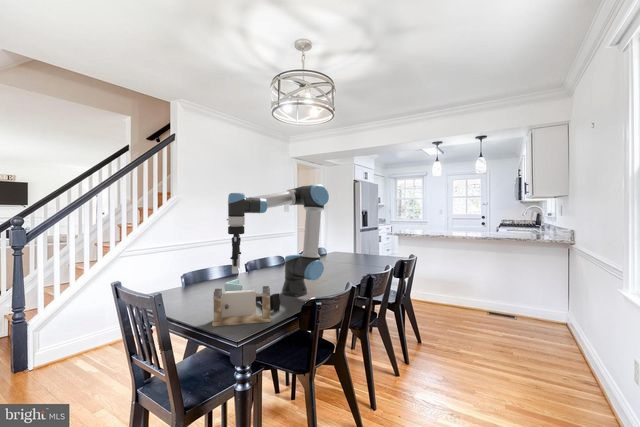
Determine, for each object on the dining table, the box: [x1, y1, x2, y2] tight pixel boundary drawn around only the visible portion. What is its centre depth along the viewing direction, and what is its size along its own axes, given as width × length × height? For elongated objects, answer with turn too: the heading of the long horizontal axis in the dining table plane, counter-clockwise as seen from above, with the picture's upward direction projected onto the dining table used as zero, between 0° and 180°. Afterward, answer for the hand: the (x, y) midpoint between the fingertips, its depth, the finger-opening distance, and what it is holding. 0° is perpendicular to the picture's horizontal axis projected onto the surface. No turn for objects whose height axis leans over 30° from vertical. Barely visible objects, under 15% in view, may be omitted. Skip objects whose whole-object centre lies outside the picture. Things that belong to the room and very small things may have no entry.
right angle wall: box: [224, 278, 243, 291], centre depth 184 cm, size 12×12×8 cm
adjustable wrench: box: [256, 293, 281, 313], centre depth 161 cm, size 8×3×25 cm
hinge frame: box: [211, 285, 272, 327], centre depth 138 cm, size 25×6×15 cm, turn 103°
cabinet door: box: [212, 289, 263, 317], centre depth 143 cm, size 22×5×12 cm, turn 103°
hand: (236, 270), depth 146 cm, fingers open, 13 cm apart
